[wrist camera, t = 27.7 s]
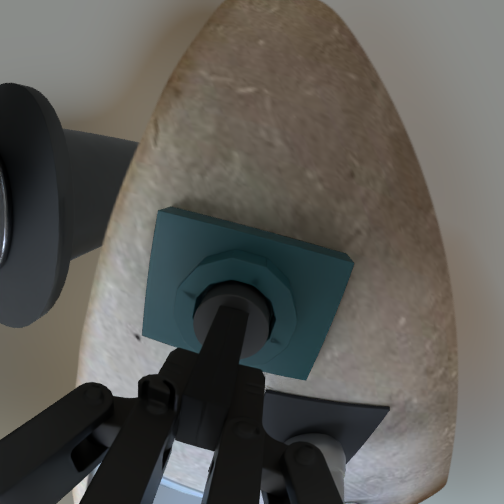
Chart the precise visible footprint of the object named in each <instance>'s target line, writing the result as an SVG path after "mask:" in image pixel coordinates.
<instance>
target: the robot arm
mask: <svg viewBox="0 0 504 504" xmlns="http://www.w3.org/2000/svg"><path fill="white" fill-rule="evenodd" d="M12 235H13V200H12V191H11V185H10V180H9V175H8V172H7V168H6V165H5V163H4V160H3V158H2V156H1V155H0V269H1V268H2V267H3V266H4V264H5V262H6V260H7V258H8V255H9V252H10V248H11V243H12ZM248 317H249V313H247V312H243V311H239V310H236V309H232V308H229V307H225V306H221V305H220V306H219V308H218V311H217V313H216V315H215V318H214V320H213V322H212V325H211V327H210V329H209V331H208V334H207V336H206V338H205V341H204V343H203V345H202V348H201V350H200V352H199V353H196V352H192V351H189V350H186V349H183V348H180V347H178V348H177V349H175V350H174V351H172V352H170V354H169V356H168V357H167V359H166V362H165V363H164V364H163V366H162V368H161V370H160V371H159V373H158V374H153V375H147V376H144V377H142V378H141V379H140V380H139V381H138V397H137V398H123V397H116V396H113V395H112V393H111V391H110V390H109V389H108V388H107V387H106V386H104V385H102V384H99V383H94V382H90V383H85V384H82V385H80V386H79V387H77V388H76V389H74V390H73V391H71V392H70V393H69V394H67V395H66V396H64V397H63V398H61V399H60V400H58V401H57V402H55V403H54V404H53V405H51V406H49V407H48V408H47V409H45V410H44V411H42V412H41V413H39V414H38V415H37V416H35V417H34V418H32V419H31V420H29V421H28V422H26V423H25V424H23V425H22V426H20V427H19V428H17V429H16V430H14V431H13V432H11V433H10V434H8V435H7V436H5V437H4V438H2V439H1V440H0V504H56V503H58V501H60V500H61V499H62V498H63V497H64V496H65V495H66V494H68V493H69V492H70V491H71V490H72V489H73V488H74V487H75V486H76V485H77V484H78V483H80V482H81V481H82V480H83V479H84V478H85V477H86V476H87V475H88V474H89V473H90V472H91V471H92V470H93V469H94V468H96V467H97V466H98V465H99V464H100V463H101V462H102V463H101V464H100V466H99V468H98V470H97V472H96V473H95V475H94V477H93V479H92V481H91V483H90V484H89V486H88V488H87V490H86V492H85V494H84V495H83V497H82V499H81V501H80V503H79V504H152V503H153V500H154V498H155V495H156V492H157V490H158V487H159V484H160V482H161V479H162V476H163V473H164V471H165V468H166V465H167V462H168V460H169V457H170V454H171V451H172V444H173V442H174V439H175V440H177V441H180V442H183V443H186V444H190V445H193V446H197V447H200V448H204V449H208V450H211V451H215V452H214V456H213V459H212V462H211V465H210V467H209V470H208V472H209V474H208V478H207V482H206V486H205V490H204V494H203V498H202V503H201V504H259V499H260V490H261V492H262V497H263V501H264V504H344V503H343V501H342V499H341V496H340V494H339V491H338V489H337V487H336V484H335V482H334V479H333V477H332V474H331V472H330V470H329V467H328V465H327V462H326V460H325V457H324V455H323V453H322V452H321V450H320V449H319V448H318V447H316V446H315V445H314V444H311V443H309V442H303V441H298V442H293V443H292V444H290V445H287V444H284V443H282V442H280V441H277V440H276V439H274V438H272V437H271V436H270V435H268V434H267V432H266V431H265V430H264V427H263V424H262V417H263V404H264V390H265V376H264V374H263V372H262V370H261V369H258V368H254V367H249V366H245V365H241V364H239V361H240V356H241V351H242V346H243V342H244V337H245V332H246V327H247V322H248Z"/></svg>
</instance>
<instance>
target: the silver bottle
mask: <svg viewBox="0 0 504 504" xmlns="http://www.w3.org/2000/svg"><path fill="white" fill-rule="evenodd" d="M298 441H303V442H309V443H311V444H314V445H315V446H316V447H318V448H319V449H320V450H321V452H322V453H323V455H324V457H325V460H326V462H327V465H328V467H329V470H330V472H331V474H332V477H333V479H334V482H335V484H336V487H337V489H338V491H339V494H340V496H341V499H342V501H343V503H344V477H345V470H346V457H345V454H344V451H343V449H342V446H341V444H340V443H339V442H338V441H337V440H335V439H334V438H332V437H330V436H329V435H325V434H320V433H308V434H302V435H298V436H295V437H292V438H290V439H288V440H287V441H286V442H284V444H287V445H290V444H292V443H293V442H298Z"/></svg>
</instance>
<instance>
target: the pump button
mask: <svg viewBox="0 0 504 504" xmlns="http://www.w3.org/2000/svg"><path fill="white" fill-rule="evenodd" d="M220 305H221V306H225V307H229V308H232V309H236V310H239V311H243V312H247V313H249V317H248V322H247V327H246V332H245V337H244V342H243V346H242V351H241V356H240V359H245V358H248V357H250V356H252V355H254V354H256V353H257V352H258V351H259V350H261V348H262V347H263V346H264V345H265V343H266V341H267V338H268V334H269V320H270V309H269V305H268V302H267V300H266V298H265V297H264V295H263V294H262V293H261V292H260V291H259V290H258V289H257V288H255V287H254V286H252V285H250V284H246V283H243V282H239V281H226V282H222V283H219V284H217V285H215V286H214V287H212V288H211V289H210V290H209V291H208V292H207V294H206V295H205V297H204V299H203V300H202V302H201V304H200V305H199V307H198V309H197V310H196V313H195V315H194V320H193V328H194V332H195V335H196V337H197V339H198V341H199V342H200V344H201V345H203V343H204V341H205V338H206V336H207V334H208V331H209V329H210V327H211V325H212V322H213V320H214V318H215V315H216V313H217V311H218V308H219V306H220Z"/></svg>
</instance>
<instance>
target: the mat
mask: <svg viewBox="0 0 504 504" xmlns="http://www.w3.org/2000/svg"><path fill="white" fill-rule="evenodd" d="M389 411H390V408H389V407H383V406H370V405H359V404H350V403H341V402H333V401H326V400H319V399H313V398H307V397H301V396H295V395H290V394H285V393H280V392H275V391H270V390H266V392H265V394H264V404H263V417H262V424H263V427H264V430H265V431H266V432H267V434H268V435H270V436H271V437H272V438H274V439H276V440H277V441H280V442H282V443H284V442H286V441H287V440H288V439H290V438H292V437H295V436H298V435H302V434H308V433H320V434H325V435H329V436H330V437H332V438H334V439H335V440H337V441H338V442H339V443H340V444H341V446H342V449H343V451H344V454H345V457H346V464H347V463H348V461H349V460H350V459H351V458H352V457H353V456H354V455H355V454H356V452H357V451H358V450H359V449H360V448H361V447H362V445H363V444H364V443H365V442H366V441H367V439H368V438H369V437H370V436H371V434H372V433H373V432H374V431H375V429H376V428H377V427H378V425H379V424H380V423H381V421H382V420H383V419H384V417H385V416H386V415H387V413H388V412H389Z"/></svg>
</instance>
